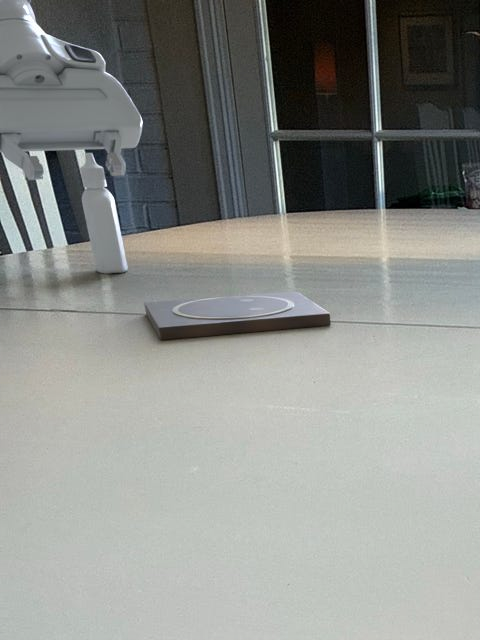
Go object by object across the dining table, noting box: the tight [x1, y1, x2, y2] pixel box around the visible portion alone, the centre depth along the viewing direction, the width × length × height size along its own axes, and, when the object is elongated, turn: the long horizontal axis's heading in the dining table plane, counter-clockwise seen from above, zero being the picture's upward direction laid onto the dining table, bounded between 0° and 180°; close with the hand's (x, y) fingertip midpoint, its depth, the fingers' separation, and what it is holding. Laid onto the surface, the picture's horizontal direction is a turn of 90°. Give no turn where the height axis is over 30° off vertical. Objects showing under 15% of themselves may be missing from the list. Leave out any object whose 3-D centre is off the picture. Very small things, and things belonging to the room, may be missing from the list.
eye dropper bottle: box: [79, 152, 128, 275], centre depth 101 cm, size 4×6×12 cm
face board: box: [143, 290, 332, 341], centre depth 79 cm, size 14×12×1 cm
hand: (79, 173), depth 102 cm, fingers open, 8 cm apart
